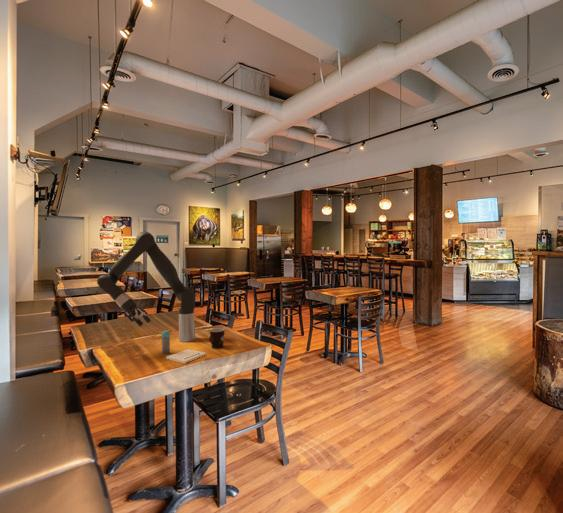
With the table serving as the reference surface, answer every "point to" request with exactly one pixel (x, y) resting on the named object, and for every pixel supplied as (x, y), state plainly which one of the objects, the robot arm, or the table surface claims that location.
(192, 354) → the notepad
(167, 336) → the marker
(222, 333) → the coffee mug
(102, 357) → the table surface
